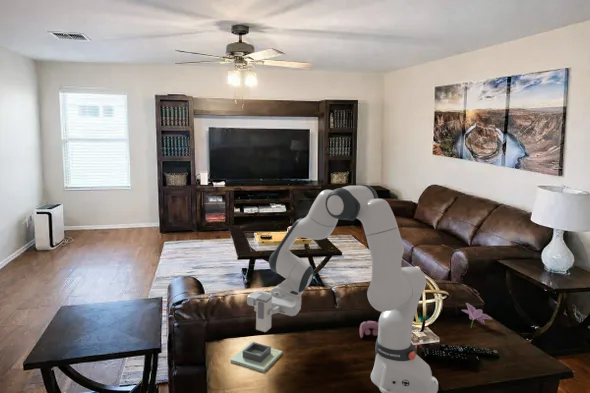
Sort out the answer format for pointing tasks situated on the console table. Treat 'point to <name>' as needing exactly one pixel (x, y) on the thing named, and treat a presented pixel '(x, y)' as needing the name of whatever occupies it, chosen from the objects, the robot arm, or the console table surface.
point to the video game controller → (369, 324)
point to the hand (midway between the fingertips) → (262, 311)
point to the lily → (476, 314)
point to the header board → (257, 356)
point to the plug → (263, 312)
